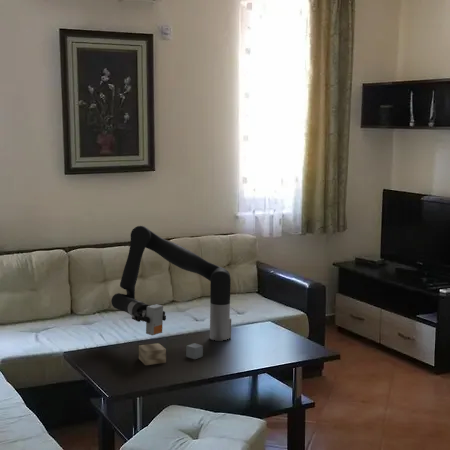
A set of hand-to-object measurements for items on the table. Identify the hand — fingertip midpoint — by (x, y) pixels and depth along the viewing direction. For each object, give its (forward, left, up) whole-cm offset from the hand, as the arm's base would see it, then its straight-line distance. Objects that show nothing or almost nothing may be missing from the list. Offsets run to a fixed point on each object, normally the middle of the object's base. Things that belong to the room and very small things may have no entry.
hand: (157, 319), depth 290 cm
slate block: (-16, +4, -18) cm, 24 cm away
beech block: (+2, -1, -18) cm, 18 cm away
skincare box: (0, -2, -7) cm, 7 cm away
